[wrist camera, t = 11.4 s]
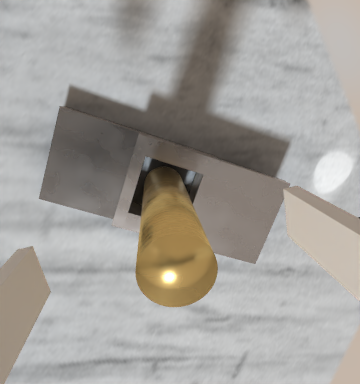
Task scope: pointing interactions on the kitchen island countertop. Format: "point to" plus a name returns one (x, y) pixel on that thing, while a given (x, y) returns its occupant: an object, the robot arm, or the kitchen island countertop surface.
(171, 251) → the pin
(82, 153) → the slotted metal plate
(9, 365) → the robot arm
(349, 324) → the kitchen island countertop surface
